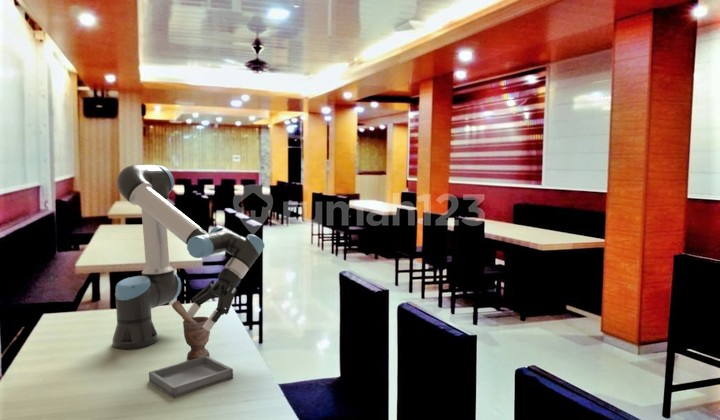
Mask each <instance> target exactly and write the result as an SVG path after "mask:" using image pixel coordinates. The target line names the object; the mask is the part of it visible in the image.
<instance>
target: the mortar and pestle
mask: <svg viewBox="0 0 720 420" xmlns="http://www.w3.org/2000/svg"><path fill="white" fill-rule="evenodd" d="M171 307H172V308H173V310H174V311H175V312H176V313H177V314H178V315H179V316H180V317H181V319H182V318H183V319H184V320H183V319H182V320H183V321H182V326H183V327H182V328H183V335H184V339H185V342H186V344H187V345H188V346H189V347H190V351H188V352H187V355H186V361H189V360H192V359H196V358H199V357H203V356H208V357H210V356H211V355H210V352H209V350H208V349H206V345H207V343H208V342H209V339H210V338H209V337H210V335H211V330H210V331H209V332H208V331H207V330H206V329H204V328H203V325H204V324H205V323H206V321H207V320H208V319H209V317H207V316H193V317H192V318H191V317H190V316H189V315H188V313H187V310H186V308H185V307H184V306H183V304H182V303H181V302H180V301H179V300H175V301H174V302H173V303H172V304H171Z"/></svg>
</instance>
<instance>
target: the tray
mask: <svg viewBox="0 0 720 420" xmlns="http://www.w3.org/2000/svg"><path fill="white" fill-rule="evenodd" d="M233 379H234V369H233V368H232V367H230V366H228V365H226V364H224V363H222V362H220V361H218V360H216V359H214V358H212V357H210V356H209V357H208V356H203V357H199V358H196V359H192V360H186V361H182V362H178V363H175V364H173V365H170V366H166V367H162V368H158V369H155V370H152V371H148V381H149V383H150V384H152V385H154V386H155V387H157V388H158V389H159V390H161V391H163V392H164V393H165V394H167V395H168V396H169V397H171V398H173V399H175V398H179V397H182V396H185V395H187V394H190V393H194V392H198V391H199V390H202V389H205V388H208V387H211V386H215V385H218V384H220V383H221V384H222V383H224V382H226V381H230V380H233Z"/></svg>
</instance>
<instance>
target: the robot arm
mask: <svg viewBox="0 0 720 420" xmlns="http://www.w3.org/2000/svg"><path fill="white" fill-rule="evenodd" d="M174 186H175V179H174V175H173V174H172V172H171V171H170V170H169V169H168V168H167V167H166V166H164V165H157V164H141V165H137V164H135V165H134V164H133V165H129V166H126V167H124V168H123V169H121V171H120V172H119V173H118V176H117V178H116V187H117V189H118V192H119V193H120V195H121V196H122V197H123V198H124V199H125V200H126V201H127V202H128V203H130V204H131V205H132V206H139V208H140V209H141V221H142V222H141V223H142V234H143V245H144V246H143V248H144V260H145V262H144V263H145V268H144V269H143V270H142V271H141V275H136V276H131V277H127V278H124V279H122V280H120V281H118V282H117V283H116V285H115V293H114V297H115V307H116V308H115V310H116V326H115V329H114V333H113V336H112V347H114V348H116V349H118V350H119V349H122V350H134V349H140V348H145V347H149V346H151V345H153V344H155V343H156V342H157V341H158V332H157V330H156V328H155V325H154V323H153V320H152V318H153V317H152V309H155V308H157V307H160V306H162V305H167V304H168V303H171V302H172V301H174V300H176V299H177V297H178V296H179V295H180V294H181V290H182V281H181V278H180V277H179V276H178V274H177V273H175V269H174V268H173V266H171V265H170V256H169V252H170V251H169V241H168V231H169V232H170V233H172V234H173V235H174V236H175V237H177V238H178V239H179V240H180V241H182V242H183V243H185V245H186V250H187V251H188V253H189V255H190V256H191V257H192V258H195V259H201V258H202V259H203V258H207V257H209V256H213V255H216V254H220V253H224V252H226V253H227V254H229V255H230V256H232V257H230V259H229V260H228V261H227V263H226V264H225V265H224V268H222V269H221V271H220V272H219V274H217V278H218V280H217V281H215V280H214V279H212V280H211V281H210V282H209V283H208V284H207V285H206V286H205V287H203V288H202V289H201V290H200V291H199V292H198V293H197V294H196V295H194V296H193V297H192V298H191V301H192V302H193V303H192V304H191V306H190V307H189V308H188V310H186V312H187V313H188V315H189V316H190V317H191V318H192V317H195V315H196V314H197V313H198V311H200V308H201V306H202V305H203V304H204V303H206V302H207V301H209V300H211V299H212V298H216V297H218V300H217V306H216V308H214V309H215V310H213V312H212V313H211V315H209V317H208V318H209V319H208V320H207V321H206V323H205V324H204V325H203V328H204V329H206V330H207V331H208V332H209V331H210V332H211V330H212V328H213V327H214V326H215V324H216V323H218V320H219V319H220V318H221V316H223V315H224V314H225V315H228V314H229V313H230V309H231V306H232V304H233V300H234V297H235V295H236V294H237V292H238V289H237V287H238V286H239V284H240V283H241V280H242V279H243V278H244V277H245V276H246V275H247V272H248V271H249V270H250V268H251V267H252V266H253V264H254V263H255V262H256V260H257V259H258V257H260V255H261V253H262V252H263V250H264V249H265V242H264V241H263V240H262V238H260V237H258V236H257V235H255V234H252V233H250V234H247V236H245V237H244V236H242V235H239V234H238V233H236V232H235V231H232V230H231V229H229V228H227V227H224V226H221V225H216V226H214V227H213V228H211V230H210V231H209V233H208V232H207V231H206V230H204V229H203V228H202V227H200V225H198V224H197V223H195V221H193V220H192V219H191V218H189V216H187V215H185V213H183V212H182V211H181V210H179V209H178V208H177V207H176V206H174V205H173V204H172V203H171V202H169V200H170V197H169V195H170V193H171V192H172V190H173V189H174V188H175V187H174ZM181 319H182V320H183V321H184V319H183V318H182V317H181Z"/></svg>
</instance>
